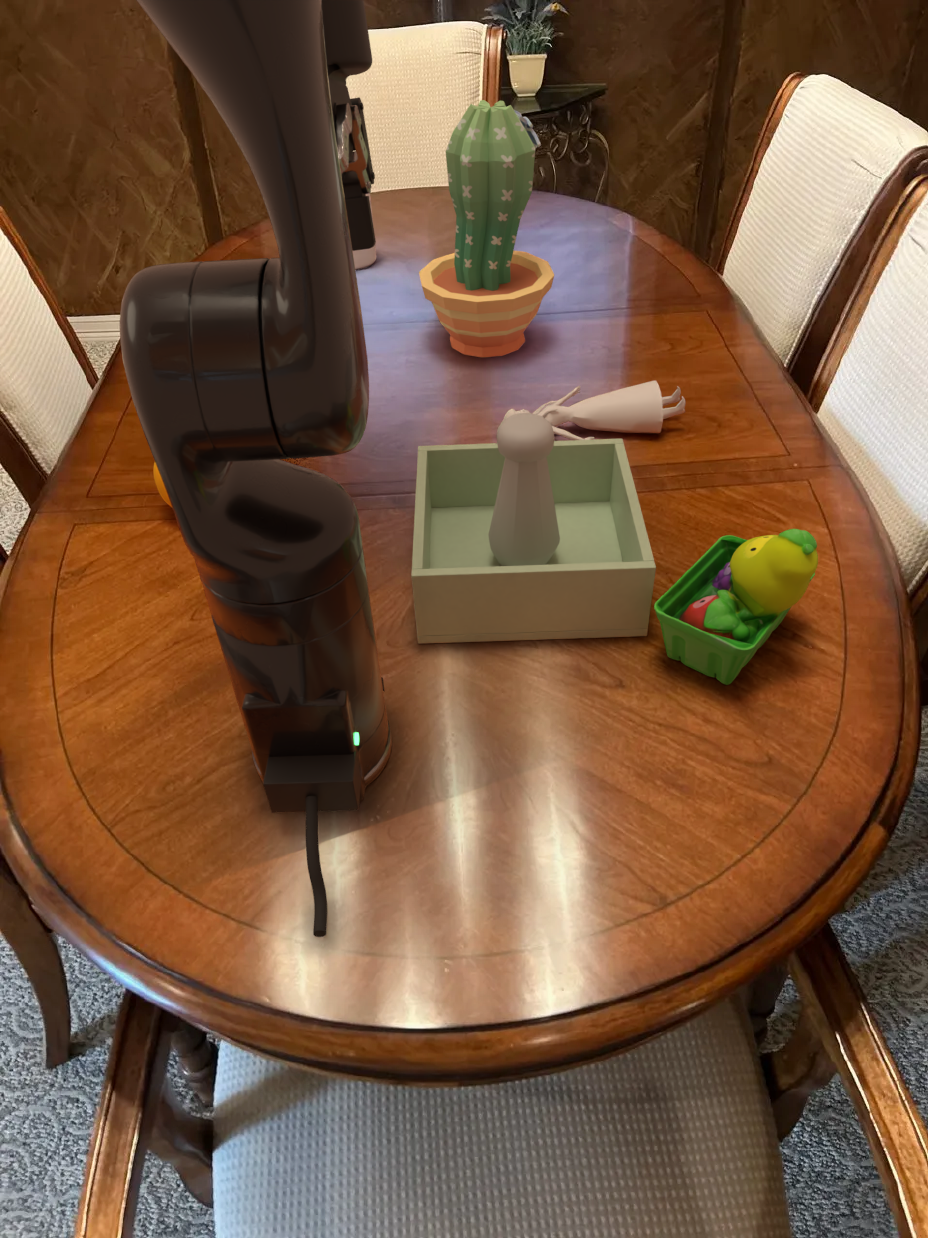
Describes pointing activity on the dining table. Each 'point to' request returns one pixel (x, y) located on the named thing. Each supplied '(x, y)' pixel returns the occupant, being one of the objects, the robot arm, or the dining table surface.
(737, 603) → the fruit basket
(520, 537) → the salt shaker
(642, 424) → the woman figurine
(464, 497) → the bin
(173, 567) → the dining table surface
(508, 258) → the potted cactus
